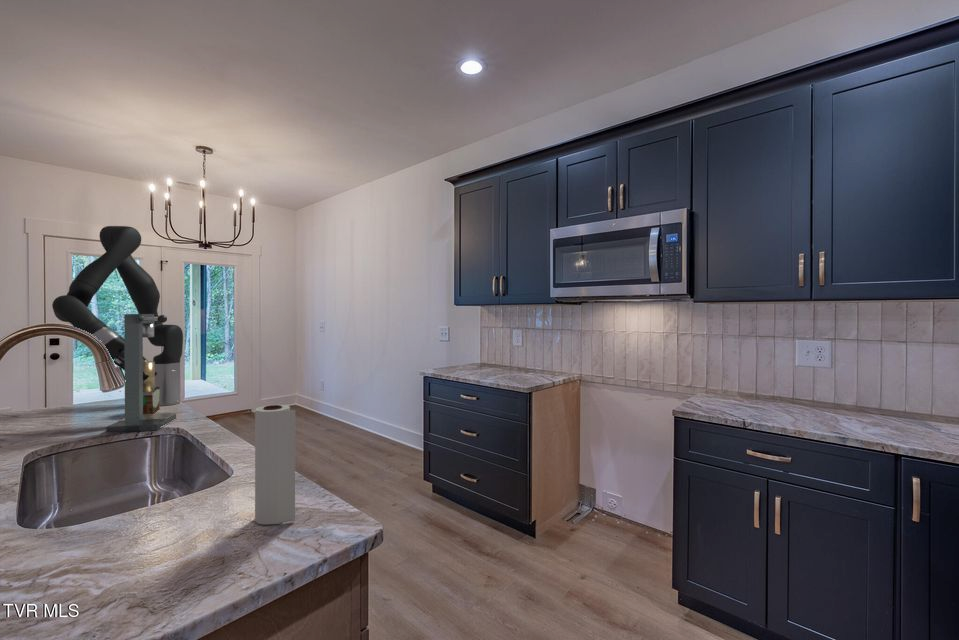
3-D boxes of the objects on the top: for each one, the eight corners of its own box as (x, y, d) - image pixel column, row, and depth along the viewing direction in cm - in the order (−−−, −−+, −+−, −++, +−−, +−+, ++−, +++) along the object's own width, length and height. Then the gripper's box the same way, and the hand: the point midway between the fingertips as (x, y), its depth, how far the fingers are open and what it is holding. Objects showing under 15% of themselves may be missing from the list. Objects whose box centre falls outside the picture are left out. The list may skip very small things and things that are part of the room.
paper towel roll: (252, 516, 83) (252, 405, 83) (285, 508, 87) (285, 402, 86) (259, 531, 77) (259, 413, 77) (295, 522, 81) (295, 408, 81)
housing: (139, 389, 151) (139, 359, 151) (157, 389, 153) (157, 359, 153) (131, 392, 146) (131, 361, 146) (150, 392, 148) (150, 361, 147)
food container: (141, 411, 168) (141, 385, 168) (160, 409, 170) (160, 384, 170) (131, 418, 157) (131, 390, 156) (152, 416, 159) (152, 389, 159)
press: (130, 421, 152) (129, 313, 151) (183, 418, 156) (183, 314, 156) (106, 433, 137) (105, 314, 137) (165, 429, 142) (165, 314, 141)
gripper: (106, 336, 140) (149, 372, 144) (130, 334, 154) (168, 366, 157) (87, 353, 139) (131, 389, 142) (112, 349, 153) (151, 381, 156)
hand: (150, 377), depth 150 cm, fingers closed on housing, 5 cm apart
